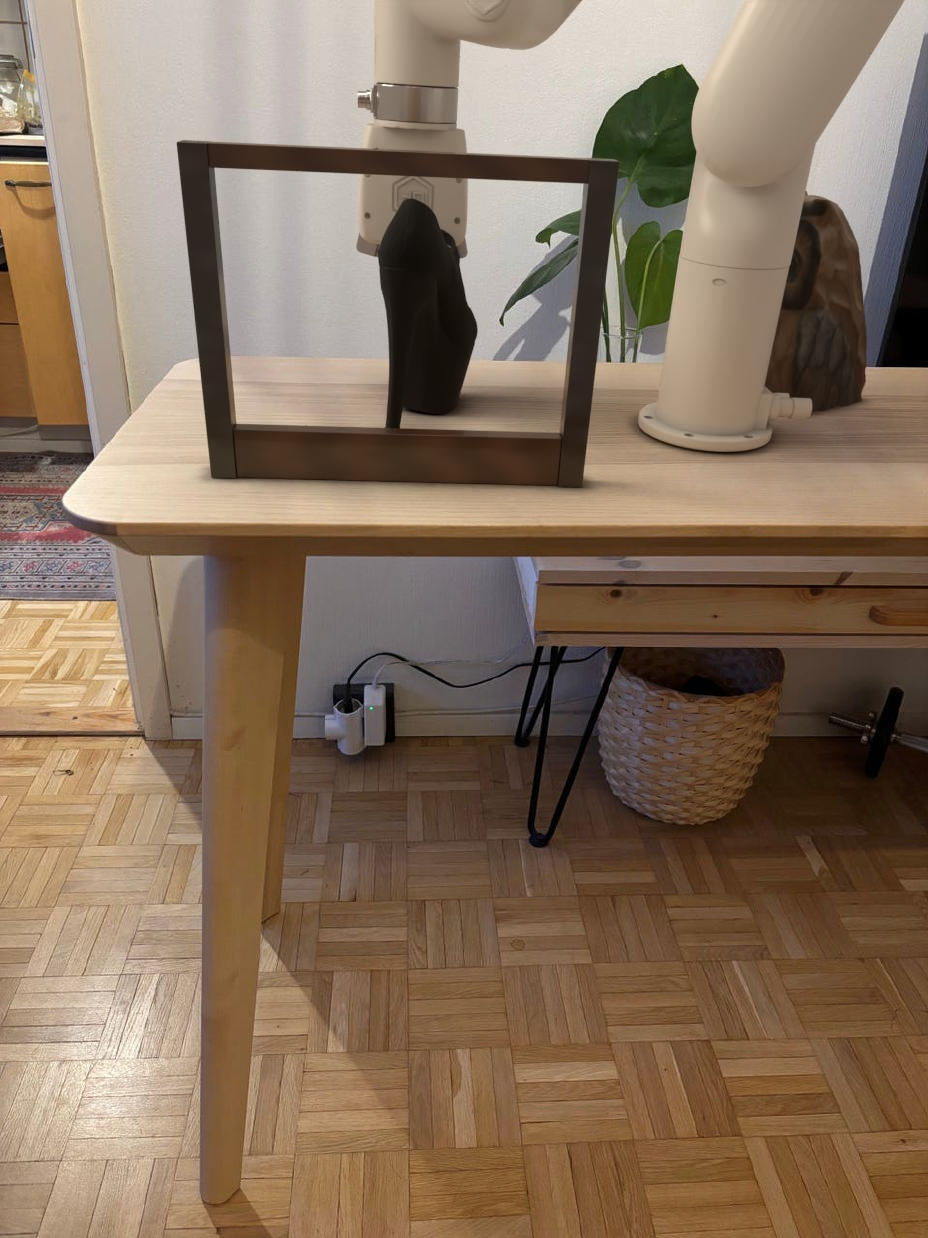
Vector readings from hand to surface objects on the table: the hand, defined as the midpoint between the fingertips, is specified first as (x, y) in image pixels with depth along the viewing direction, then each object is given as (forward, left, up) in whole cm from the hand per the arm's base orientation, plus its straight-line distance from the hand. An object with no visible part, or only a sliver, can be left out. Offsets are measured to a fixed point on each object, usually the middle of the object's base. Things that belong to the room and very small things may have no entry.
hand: (410, 317), depth 92 cm
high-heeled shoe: (-1, +7, -8) cm, 10 cm away
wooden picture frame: (+1, +24, -8) cm, 25 cm away
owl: (-42, -2, -8) cm, 43 cm away
